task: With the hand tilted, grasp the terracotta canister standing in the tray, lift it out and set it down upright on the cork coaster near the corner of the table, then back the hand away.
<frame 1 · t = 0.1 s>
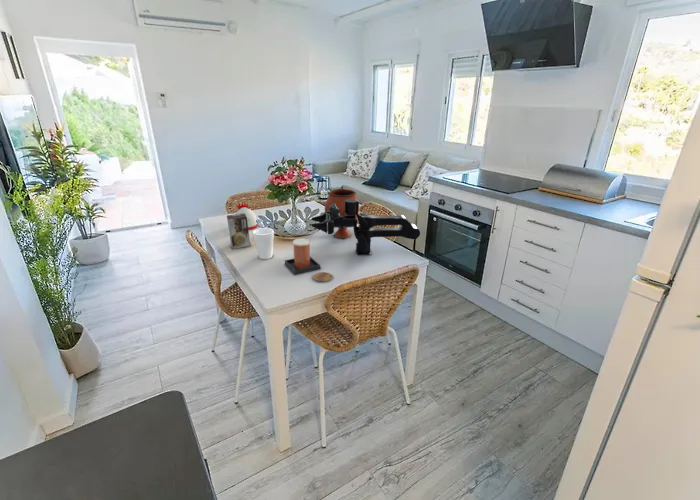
hand: (311, 222, 166), 17 cm above the table, tool horizontal, fingers open, 9 cm apart
foam cup: (265, 256, 169), on the table
coaster: (322, 277, 149), on the table
tray: (302, 266, 159), on the table
canister: (302, 265, 159), resting on tray
terracotta vase: (342, 235, 196), on the table
coffee box: (240, 245, 180), on the table
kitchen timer: (246, 226, 207), on the table
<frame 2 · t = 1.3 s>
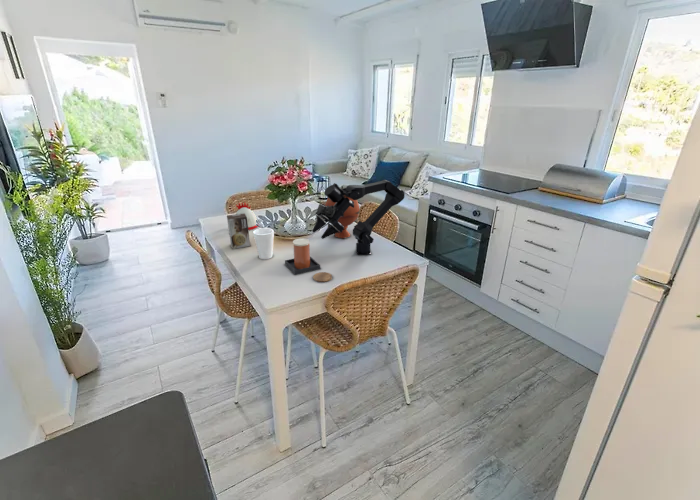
hand: (317, 234, 158), 14 cm above the table, tool tilted 45°, fingers open, 9 cm apart
nothing on the table moved.
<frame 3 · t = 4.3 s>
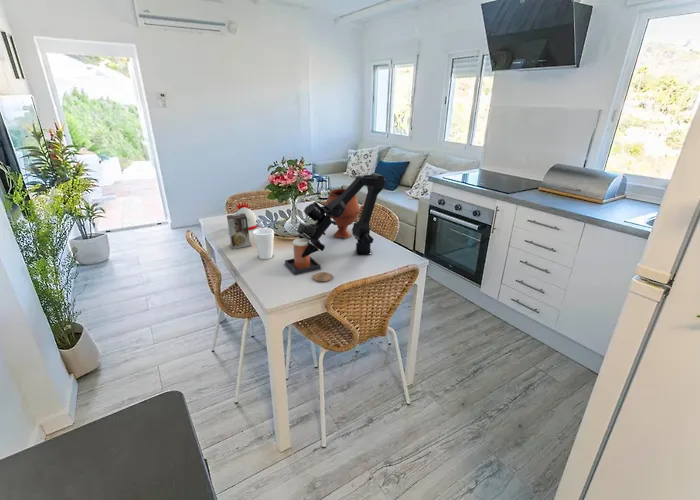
hand: (298, 253, 156), 7 cm above the table, tool tilted 45°, fingers closed on canister, 7 cm apart
canister: (302, 265, 159), resting on tray, touching gripper
everything else where it was.
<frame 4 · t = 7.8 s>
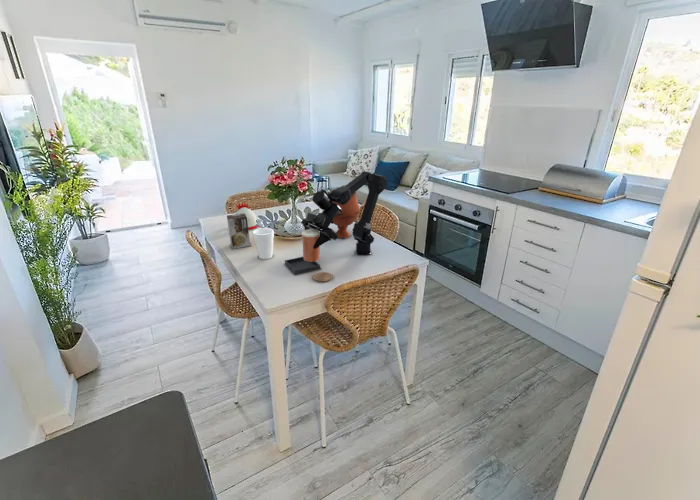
hand: (308, 245, 147), 13 cm above the table, tool tilted 45°, fingers closed on canister, 7 cm apart
canister: (311, 258, 150), point 7 cm above the table, touching gripper
everything else where it was.
when the fingers open (7 cm above the table, at t = 11.4 s): canister stays where it is, resting on coaster.
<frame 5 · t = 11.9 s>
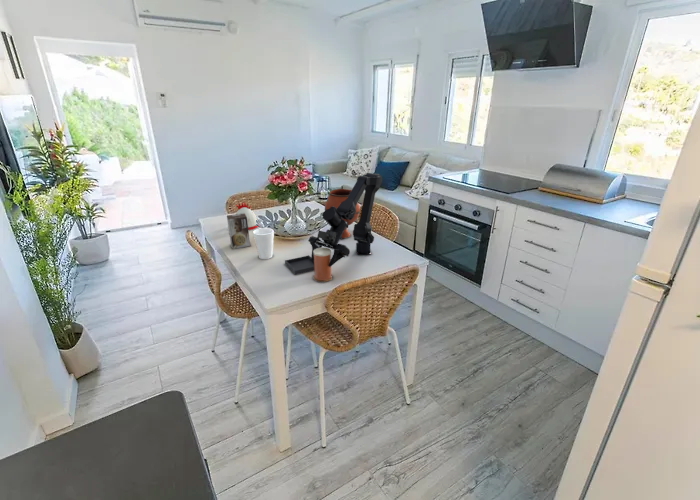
hand: (320, 263, 146), 7 cm above the table, tool tilted 45°, fingers open, 9 cm apart
canister: (322, 276, 149), point 1 cm above the table, touching coaster
everything else where it was.
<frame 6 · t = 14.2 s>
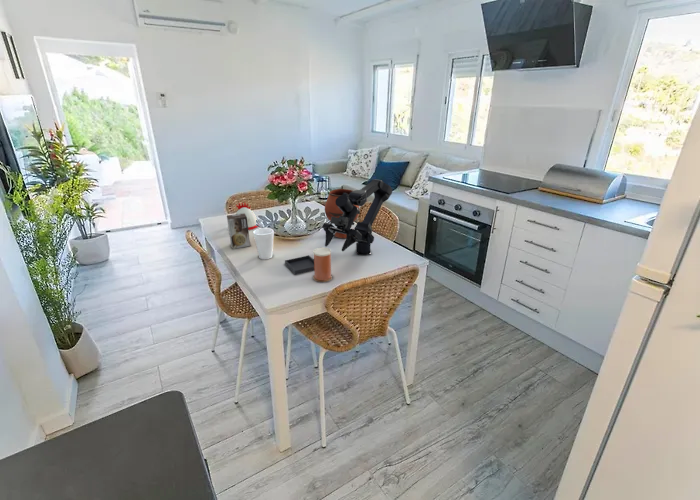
hand: (333, 248, 152), 11 cm above the table, tool tilted 45°, fingers open, 9 cm apart
nothing on the table moved.
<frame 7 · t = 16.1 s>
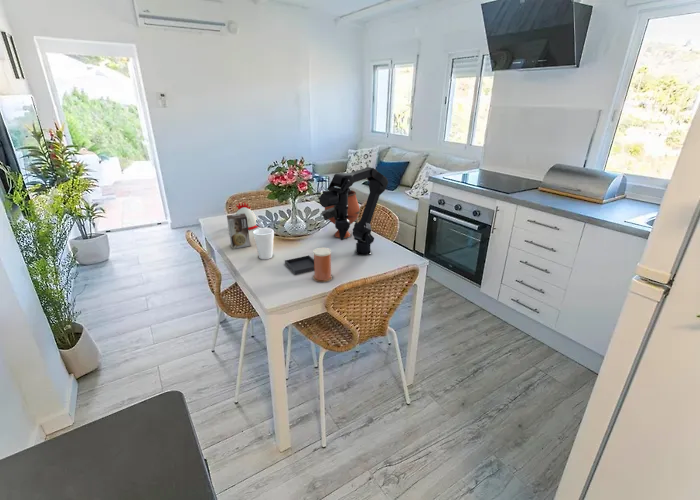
hand: (341, 236, 159), 13 cm above the table, tool pointing down, fingers open, 9 cm apart
nothing on the table moved.
at the end: canister 0.0 cm off-centre on the coaster, point 0.6 cm above the coaster's base; canister tilted 0°; the gripper is holding nothing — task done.
